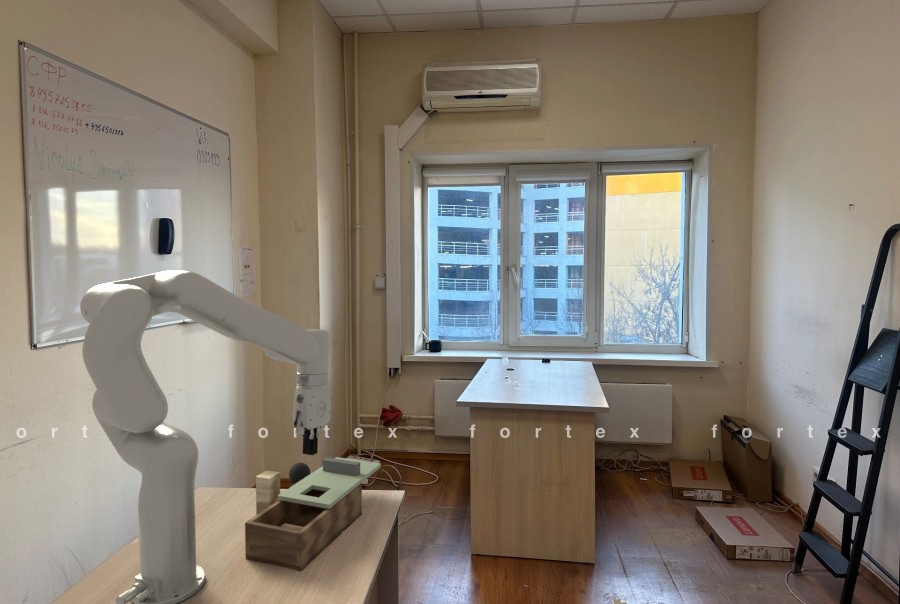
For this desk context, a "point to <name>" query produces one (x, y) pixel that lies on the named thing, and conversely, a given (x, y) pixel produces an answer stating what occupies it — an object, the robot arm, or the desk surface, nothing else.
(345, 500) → the brown wooden box
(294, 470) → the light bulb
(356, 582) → the desk surface
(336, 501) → the lid
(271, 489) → the block
